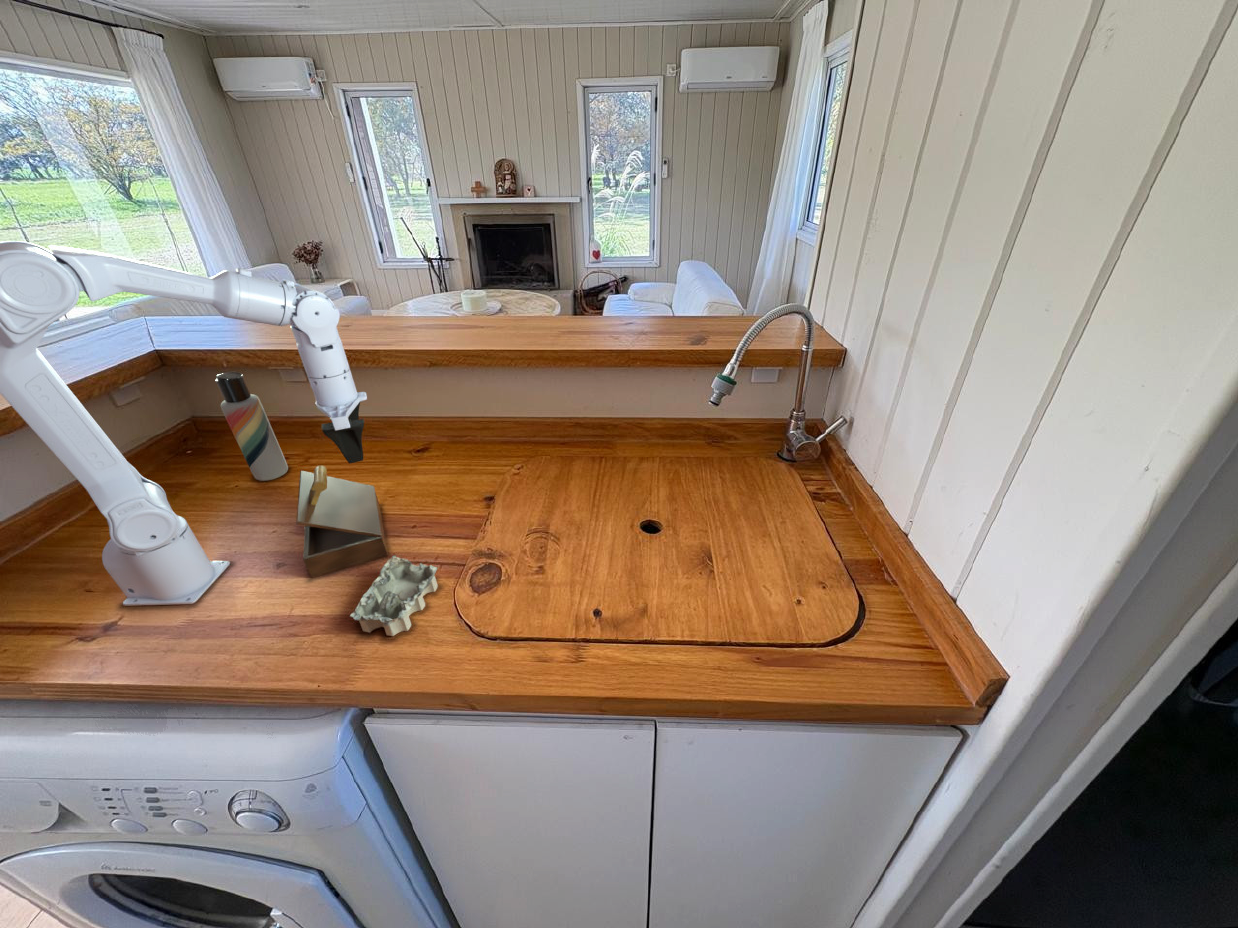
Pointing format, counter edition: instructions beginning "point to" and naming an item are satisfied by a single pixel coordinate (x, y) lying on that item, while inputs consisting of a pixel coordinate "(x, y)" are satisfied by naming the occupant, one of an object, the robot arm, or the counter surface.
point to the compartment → (340, 549)
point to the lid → (337, 504)
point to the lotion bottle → (251, 428)
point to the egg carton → (395, 596)
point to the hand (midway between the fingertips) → (355, 450)
